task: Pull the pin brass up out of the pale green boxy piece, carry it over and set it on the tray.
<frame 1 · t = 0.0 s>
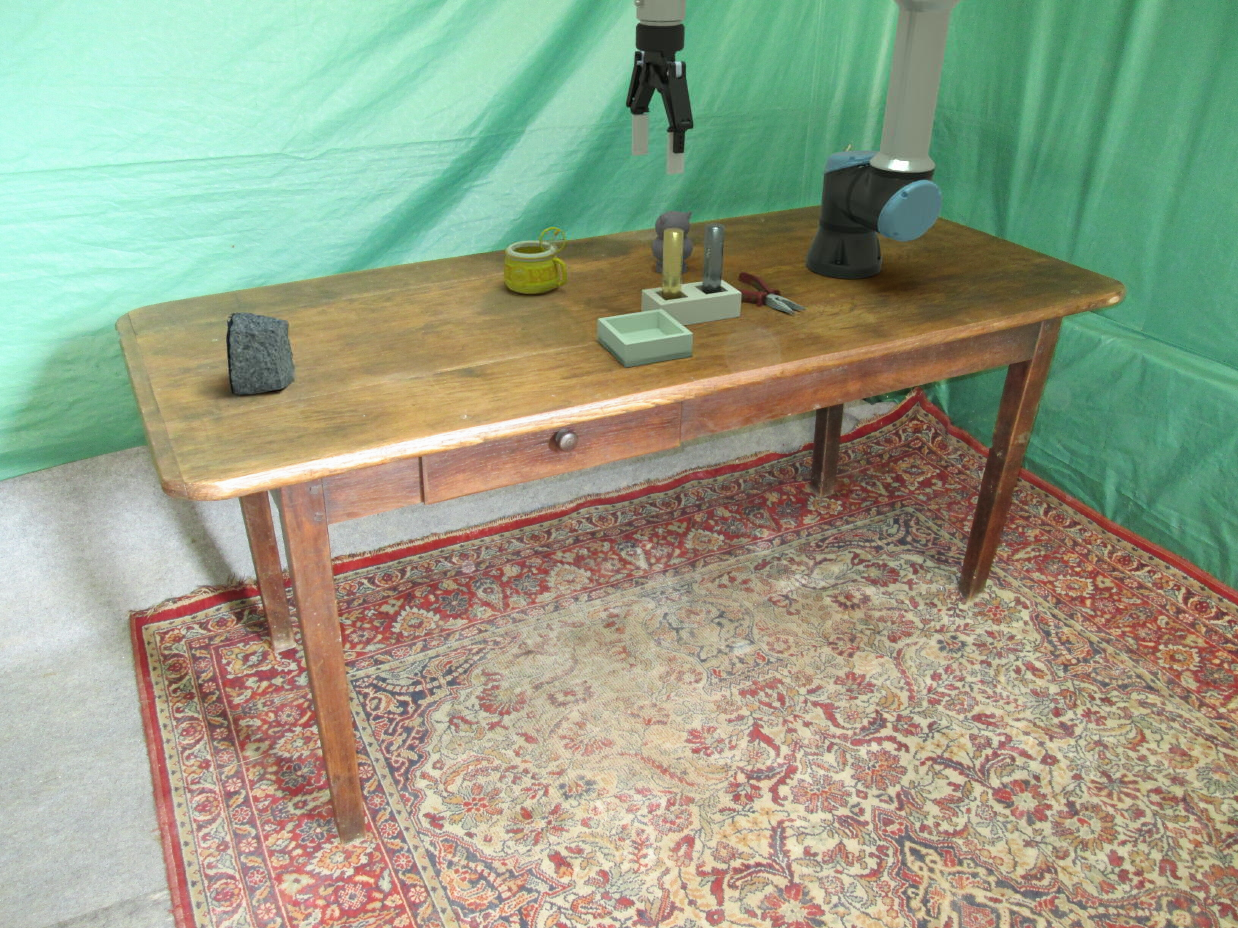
hand: (656, 164, 161), 28 cm above the table, fingers open, 13 cm apart
pale green boxy piece: (690, 315, 179), on the table
stone: (266, 385, 153), on the table
pliers: (749, 303, 186), on the table
pin dark: (710, 312, 180), resting in pale green boxy piece
cat figurine: (671, 271, 200), on the table
pin brass: (670, 318, 178), resting in pale green boxy piece
mug: (536, 289, 191), on the table
tray: (644, 348, 166), on the table
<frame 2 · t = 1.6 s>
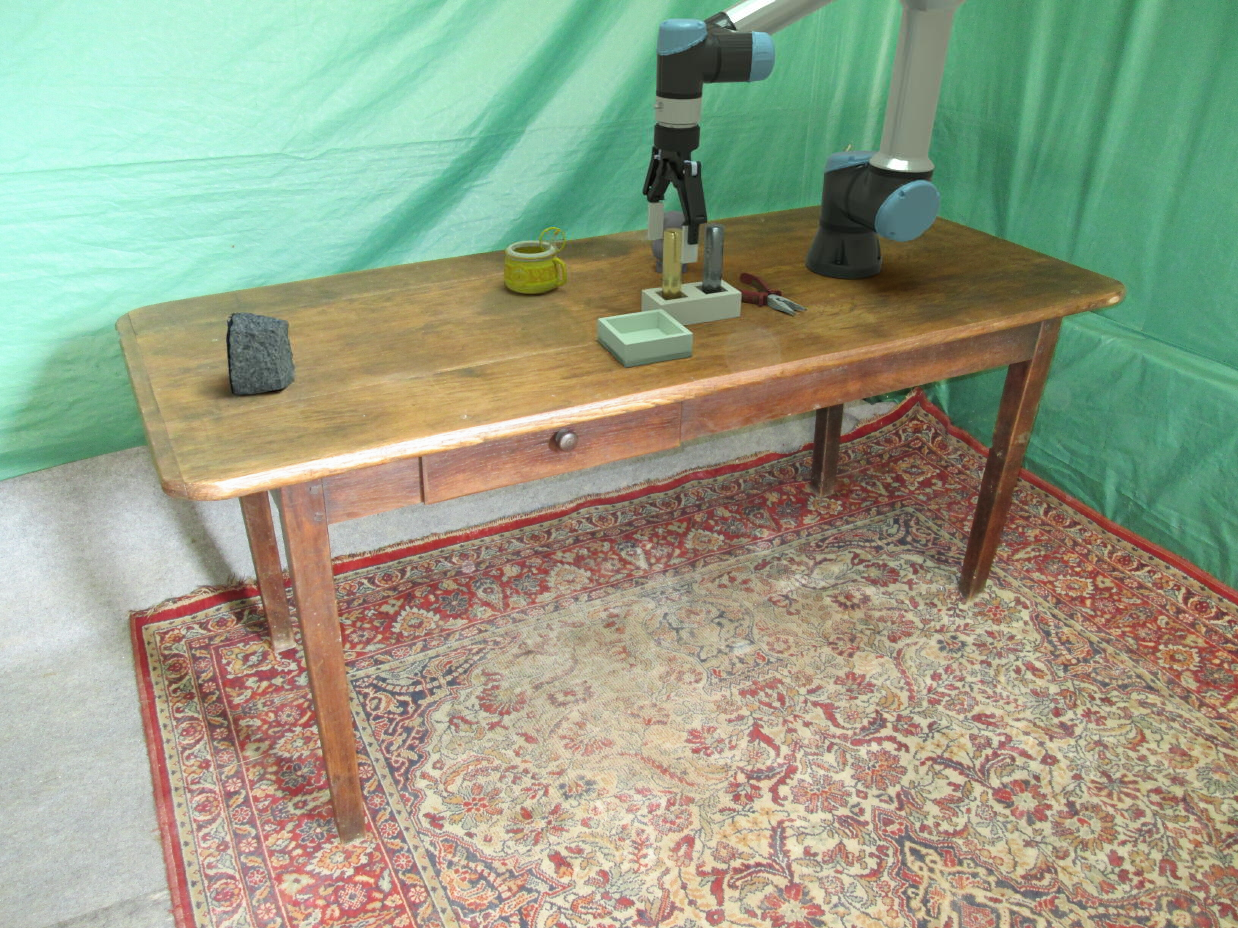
hand: (671, 250, 171), 13 cm above the table, fingers open, 13 cm apart
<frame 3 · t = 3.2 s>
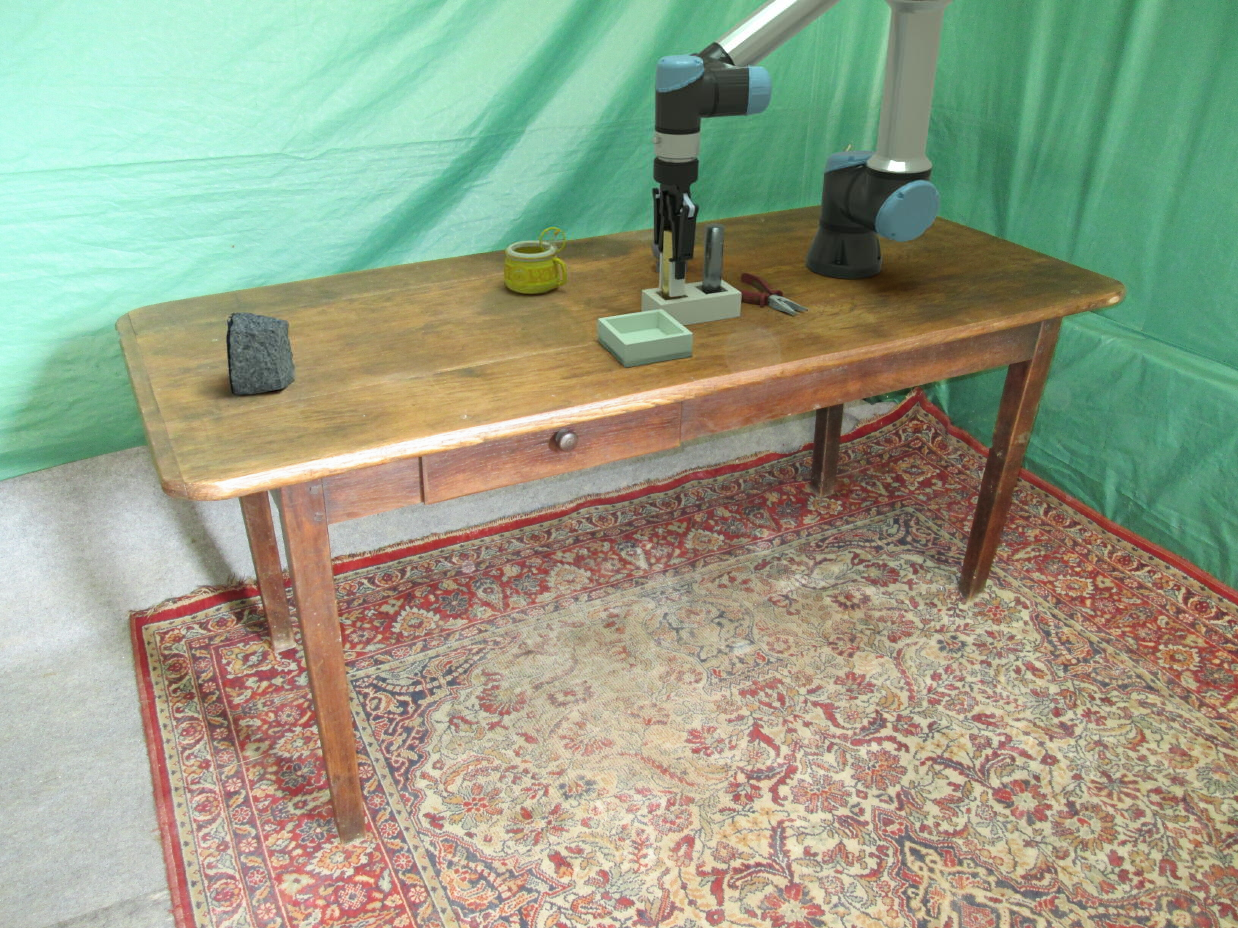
hand: (671, 291, 175), 5 cm above the table, fingers closed on pin brass, 3 cm apart
pin brass: (670, 318, 178), resting in pale green boxy piece, touching gripper
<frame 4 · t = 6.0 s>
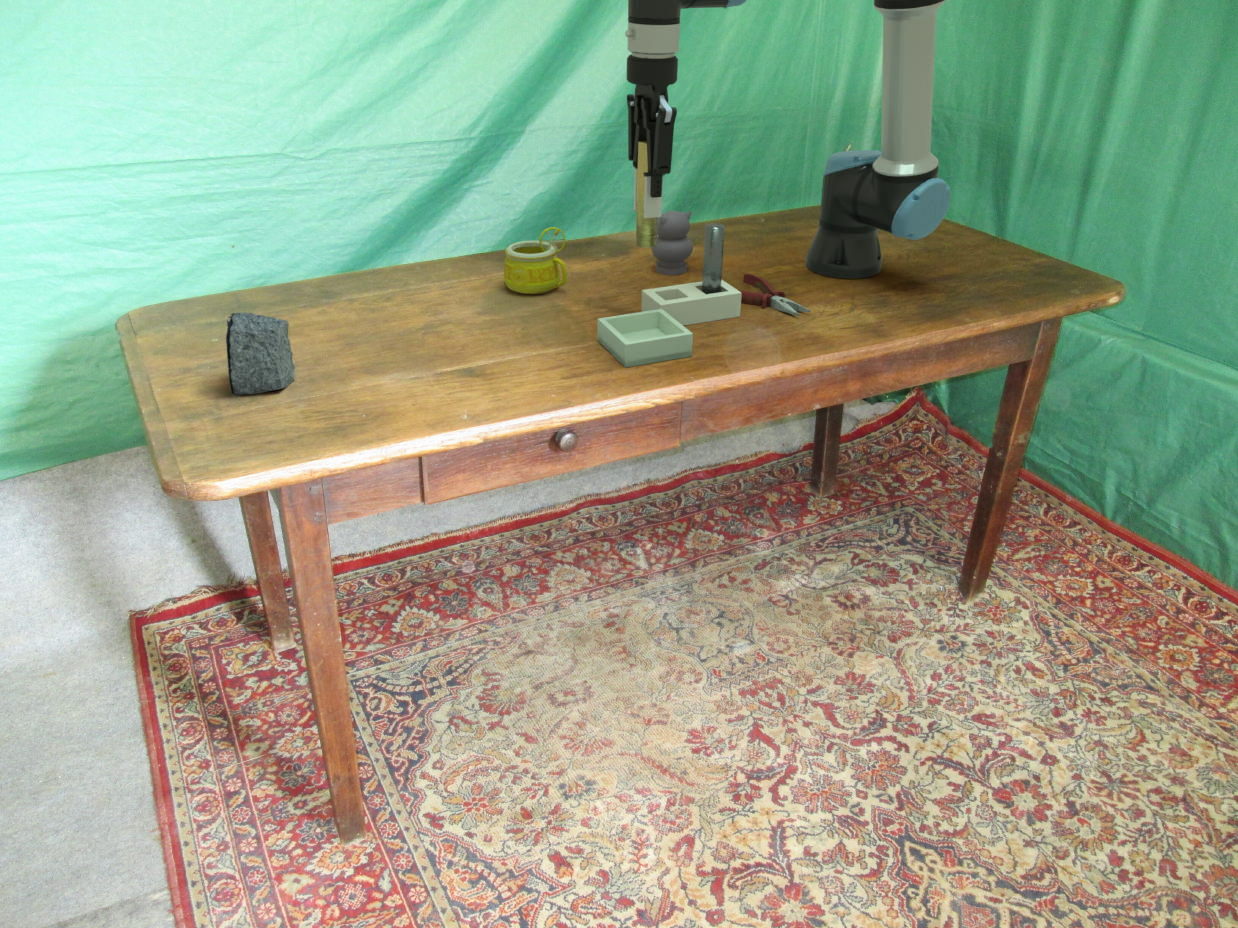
hand: (647, 213, 156), 22 cm above the table, fingers closed on pin brass, 3 cm apart
pin brass: (646, 244, 158), point 17 cm above the table, touching gripper
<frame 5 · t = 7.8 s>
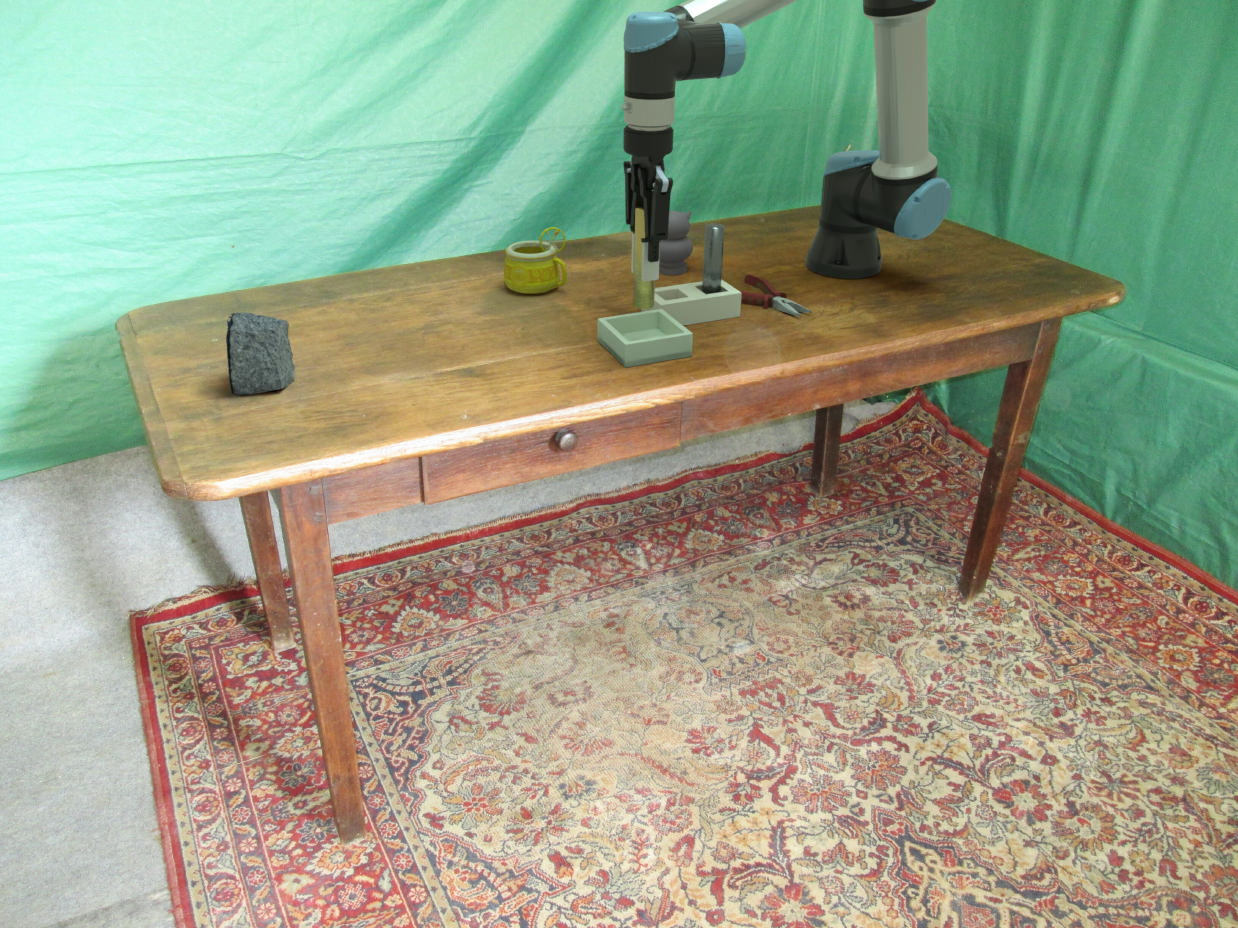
hand: (644, 275, 159), 13 cm above the table, fingers closed on pin brass, 3 cm apart
pin brass: (643, 305, 162), point 8 cm above the table, touching gripper
when the fingers open (7 cm above the table, at t = 9.1 s): pin brass stays where it is, resting on tray.
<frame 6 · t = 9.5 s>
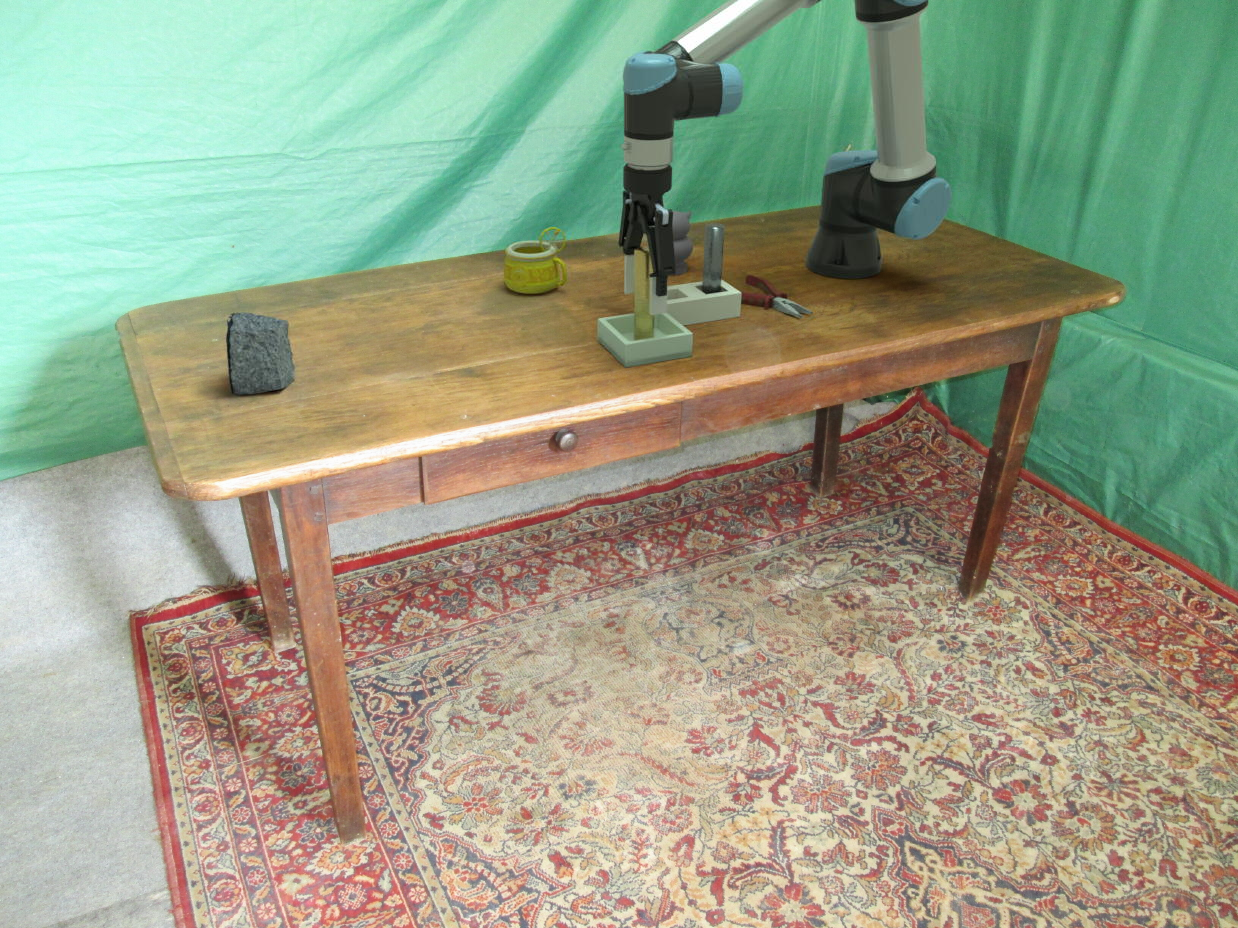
hand: (645, 302, 162), 8 cm above the table, fingers open, 9 cm apart
pin brass: (644, 342, 165), point 1 cm above the table, touching tray
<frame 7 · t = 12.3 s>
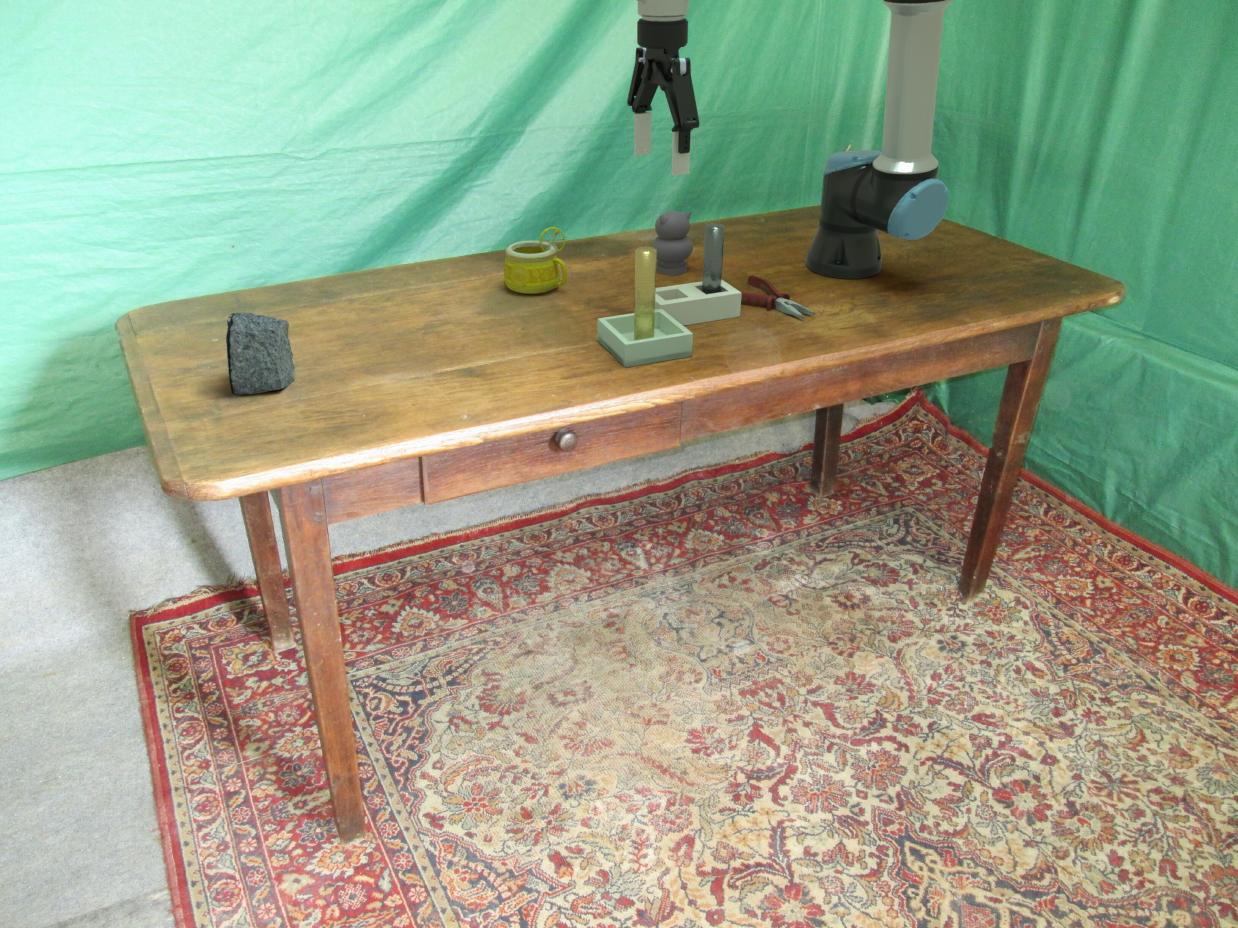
hand: (660, 164, 156), 29 cm above the table, fingers open, 13 cm apart
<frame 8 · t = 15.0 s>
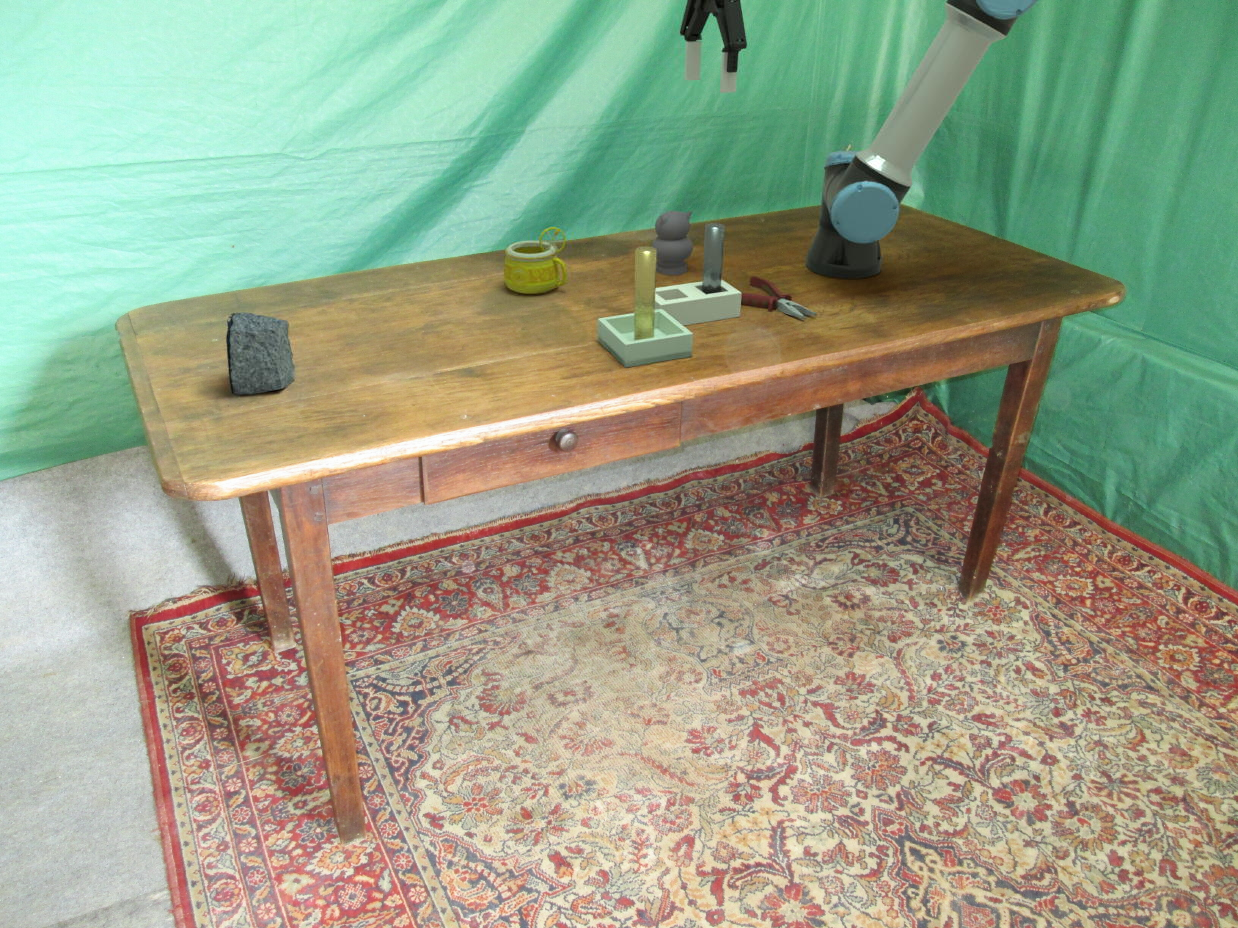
hand: (709, 86, 175), 37 cm above the table, fingers open, 13 cm apart
at the end: pin brass inside the target area on the tray (0.0 cm from its centre), point 1.0 cm above the tray's base; the gripper is holding nothing; pin dark moved 0.0 cm from its start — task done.
